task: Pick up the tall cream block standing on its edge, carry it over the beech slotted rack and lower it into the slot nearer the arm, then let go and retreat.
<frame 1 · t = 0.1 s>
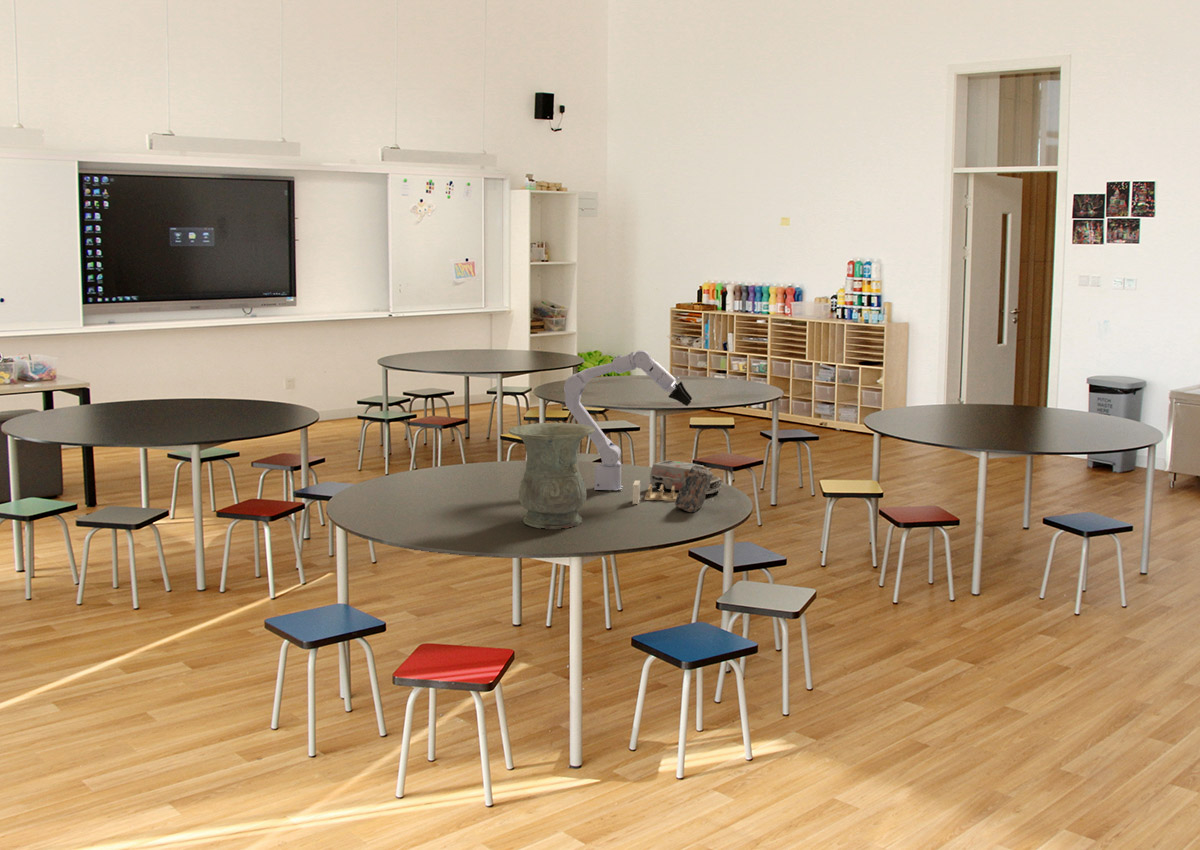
hand: (689, 402, 394), 32 cm above the table, tool tilted 50°, fingers open, 7 cm apart
toy car: (685, 492, 400), on the table
rack: (661, 498, 389), on the table
stone: (691, 509, 373), on the table
tall cream block: (636, 502, 382), on the table
vessel: (551, 522, 354), on the table
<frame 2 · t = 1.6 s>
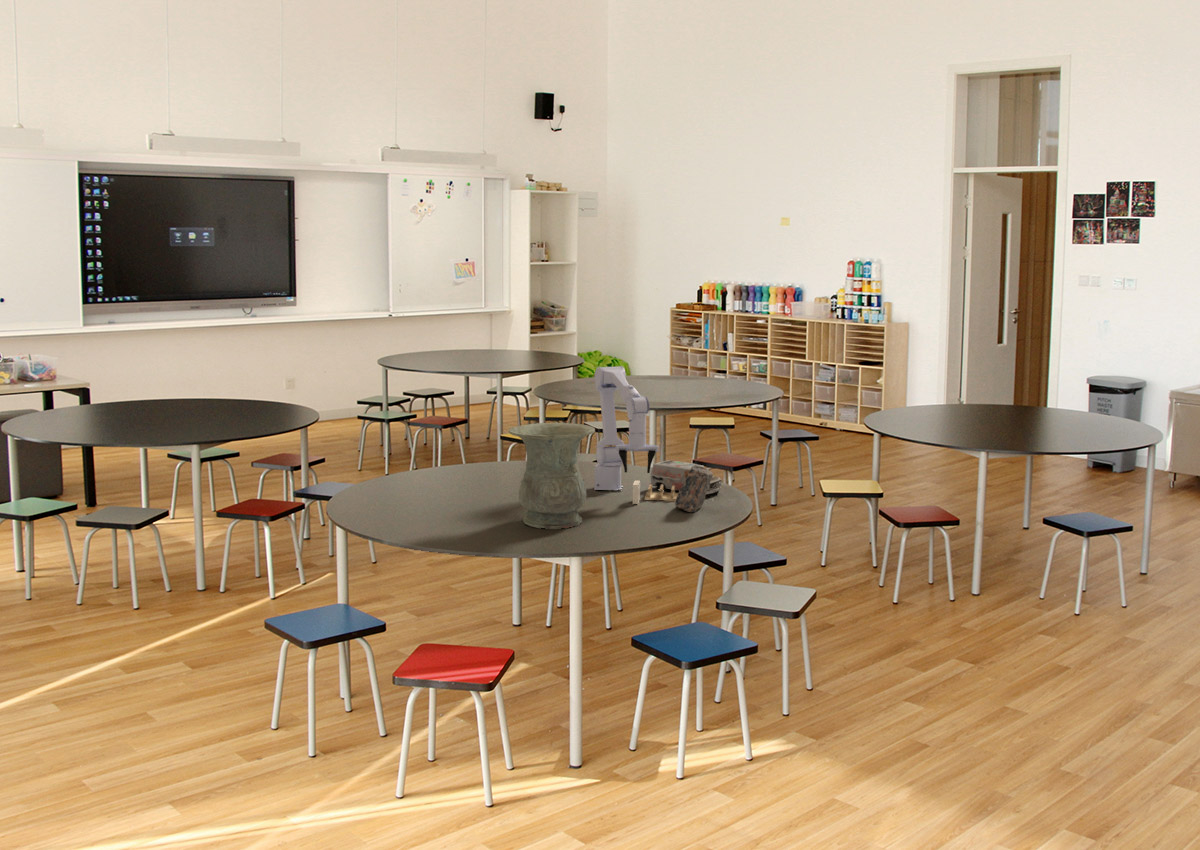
hand: (637, 472, 380), 11 cm above the table, tool pointing down, fingers open, 7 cm apart
nothing on the table moved.
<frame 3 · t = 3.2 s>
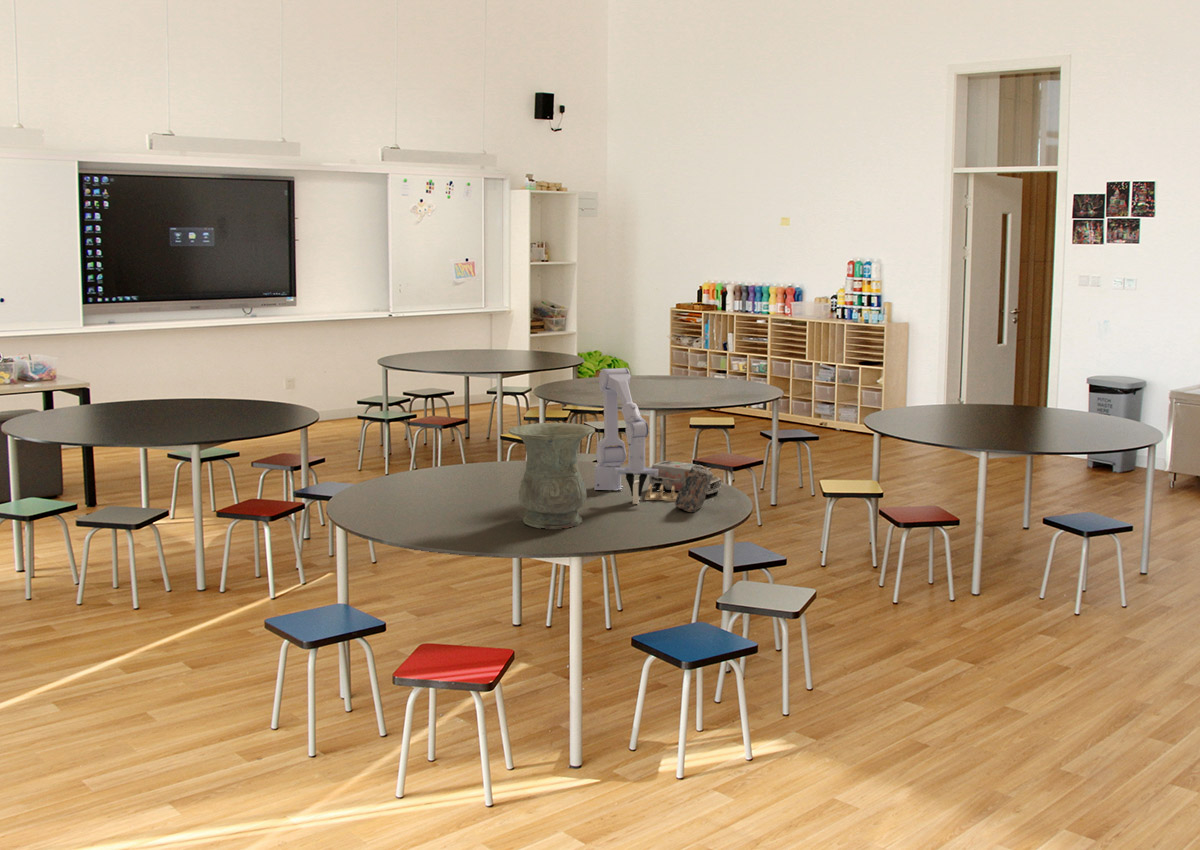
hand: (636, 495, 381), 2 cm above the table, tool pointing down, fingers closed on tall cream block, 2 cm apart
tall cream block: (636, 502, 382), on the table, touching gripper
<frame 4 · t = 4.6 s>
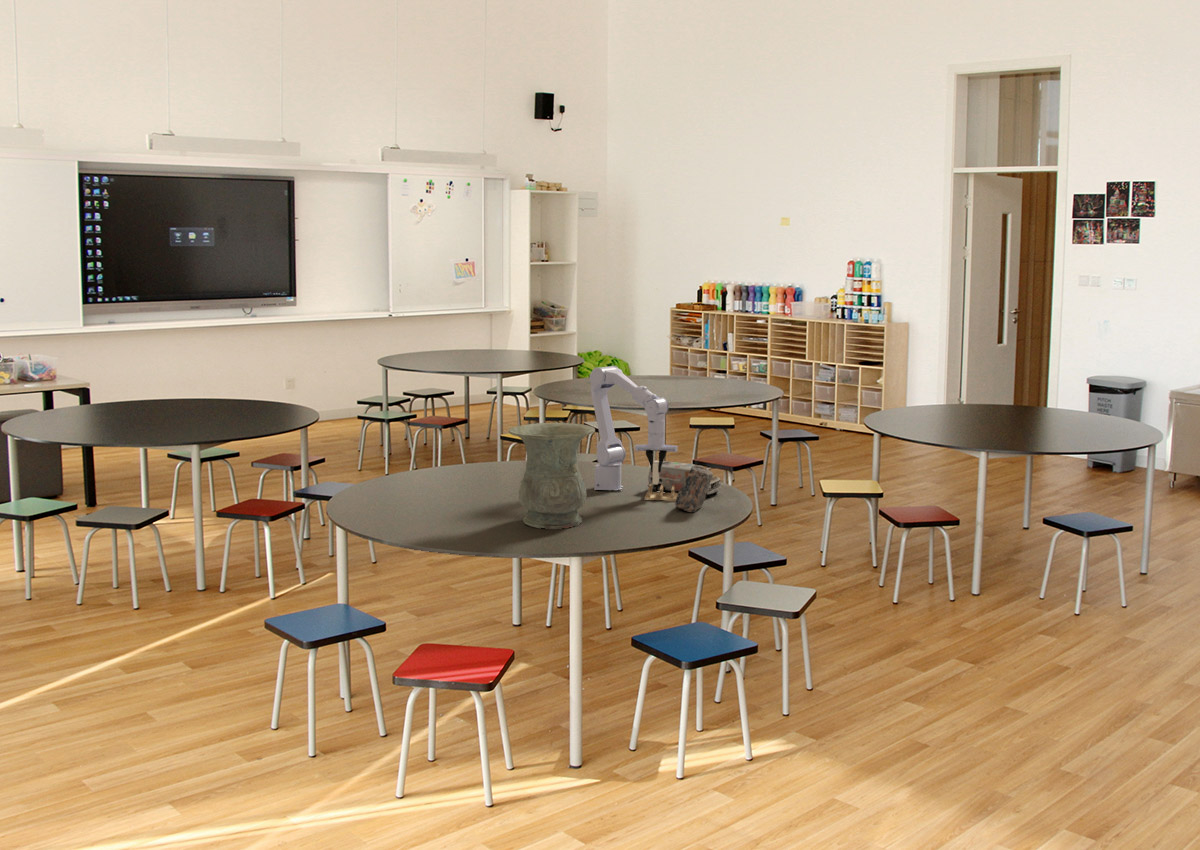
hand: (656, 471, 388), 9 cm above the table, tool pointing down, fingers closed on tall cream block
tall cream block: (655, 482, 388), point 6 cm above the table, touching gripper
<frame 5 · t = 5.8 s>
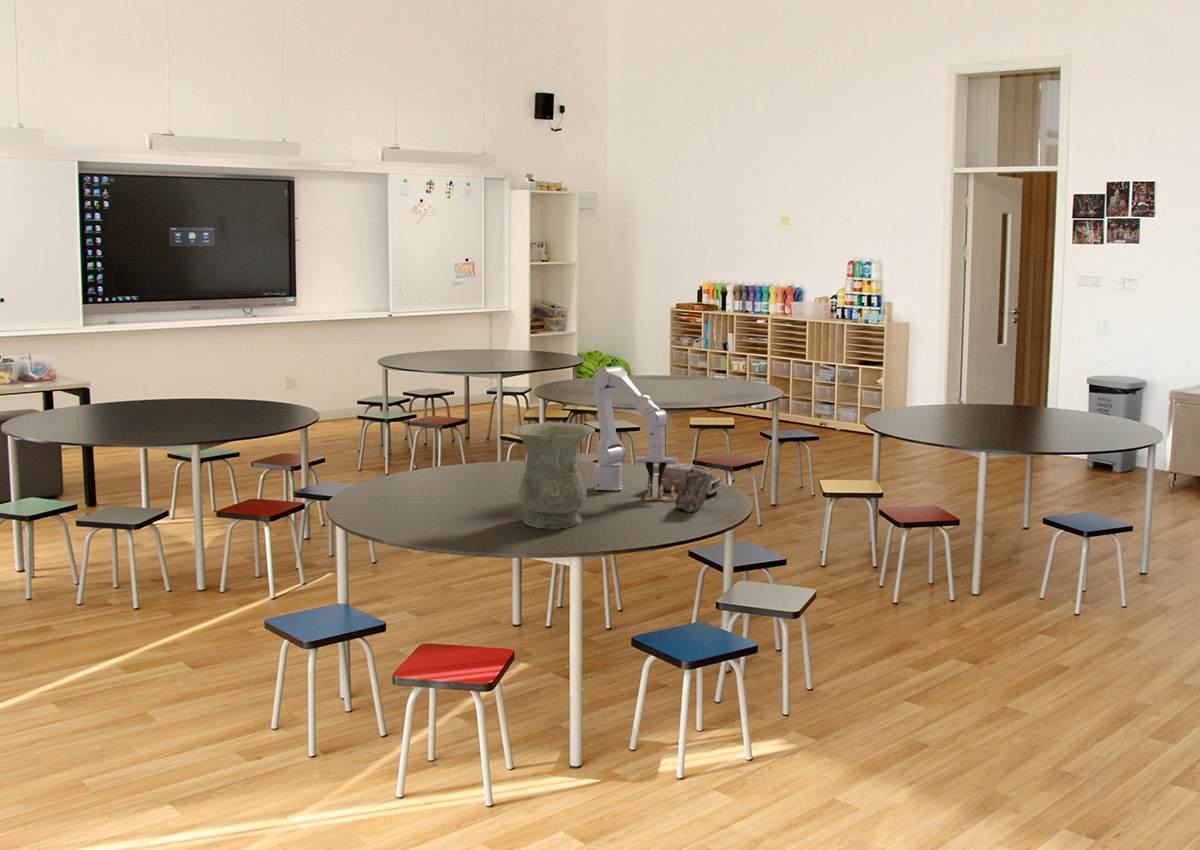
hand: (655, 484, 388), 5 cm above the table, tool pointing down, fingers closed on tall cream block, 2 cm apart
tall cream block: (655, 495, 389), point 1 cm above the table, touching gripper, rack
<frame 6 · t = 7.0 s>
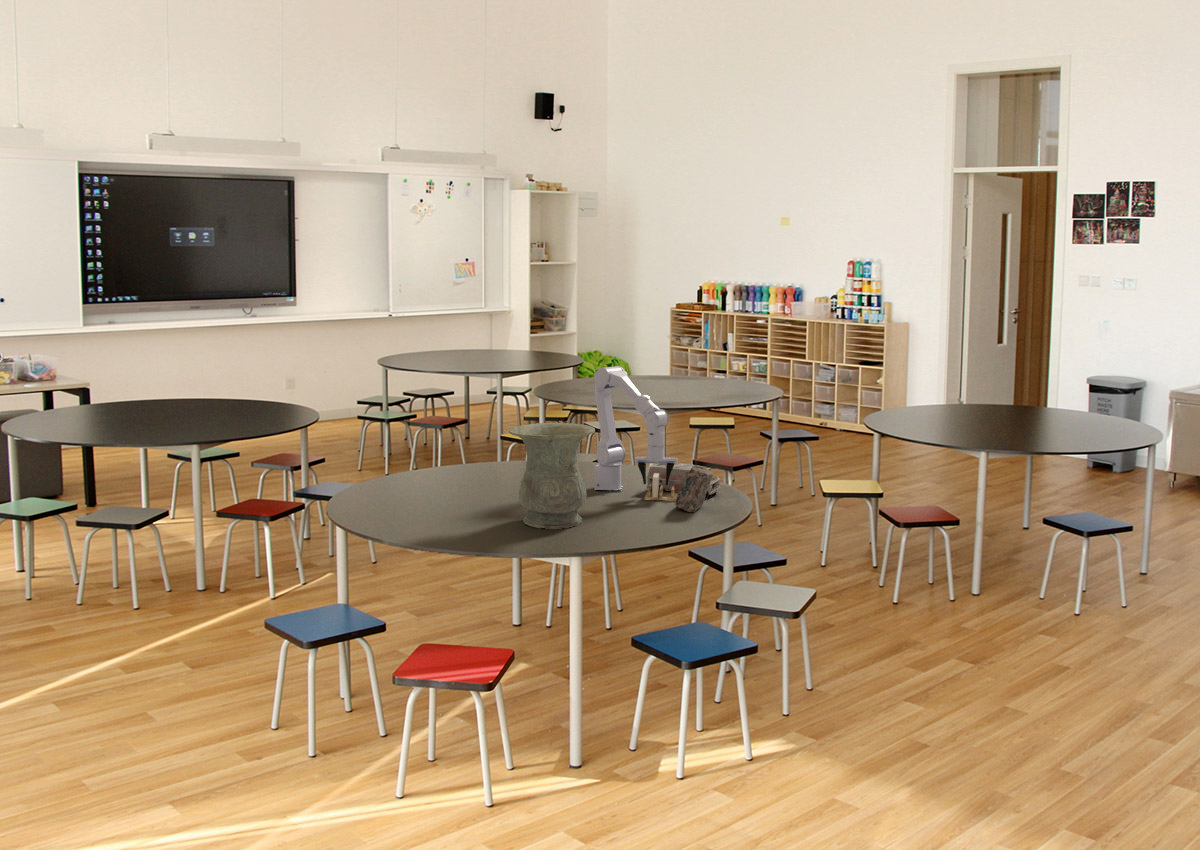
hand: (655, 484, 388), 5 cm above the table, tool pointing down, fingers open, 7 cm apart
tall cream block: (655, 495, 389), point 1 cm above the table, touching rack
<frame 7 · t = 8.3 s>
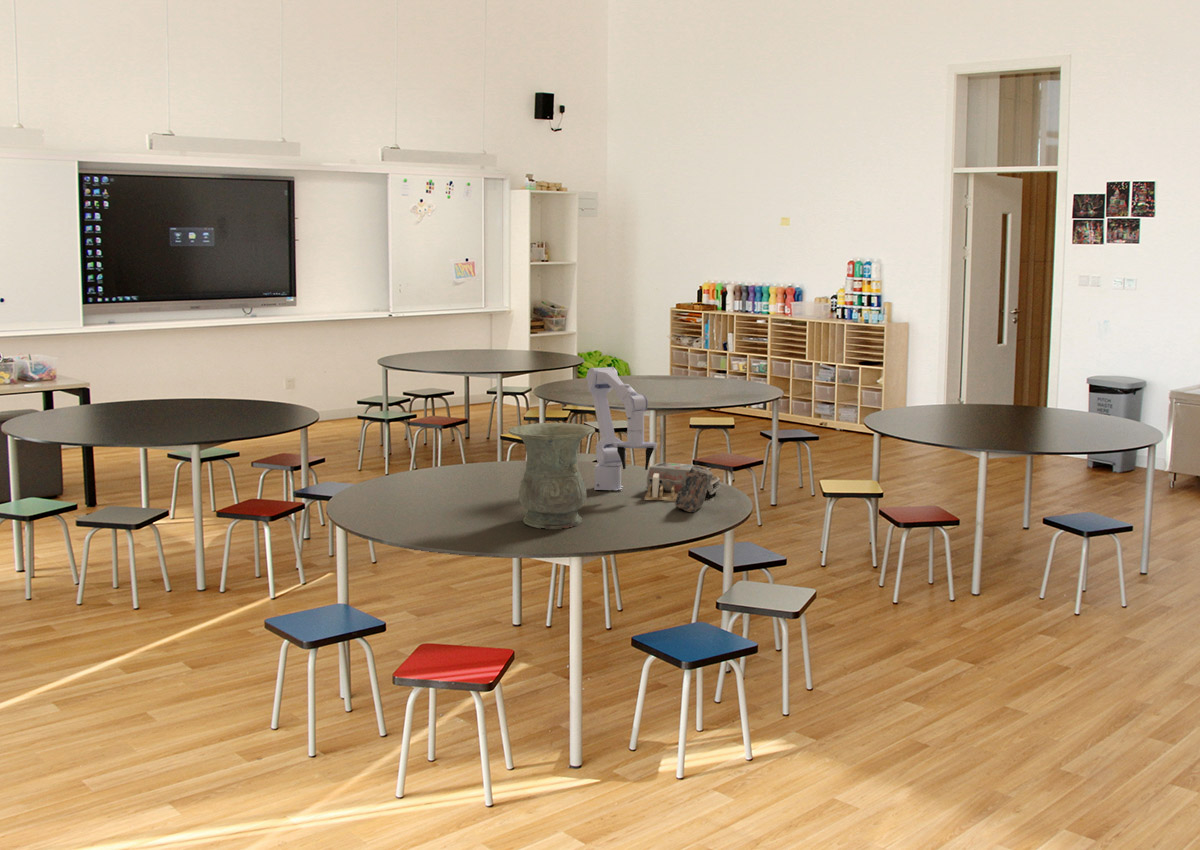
hand: (635, 469, 386), 10 cm above the table, tool pointing down, fingers open, 7 cm apart
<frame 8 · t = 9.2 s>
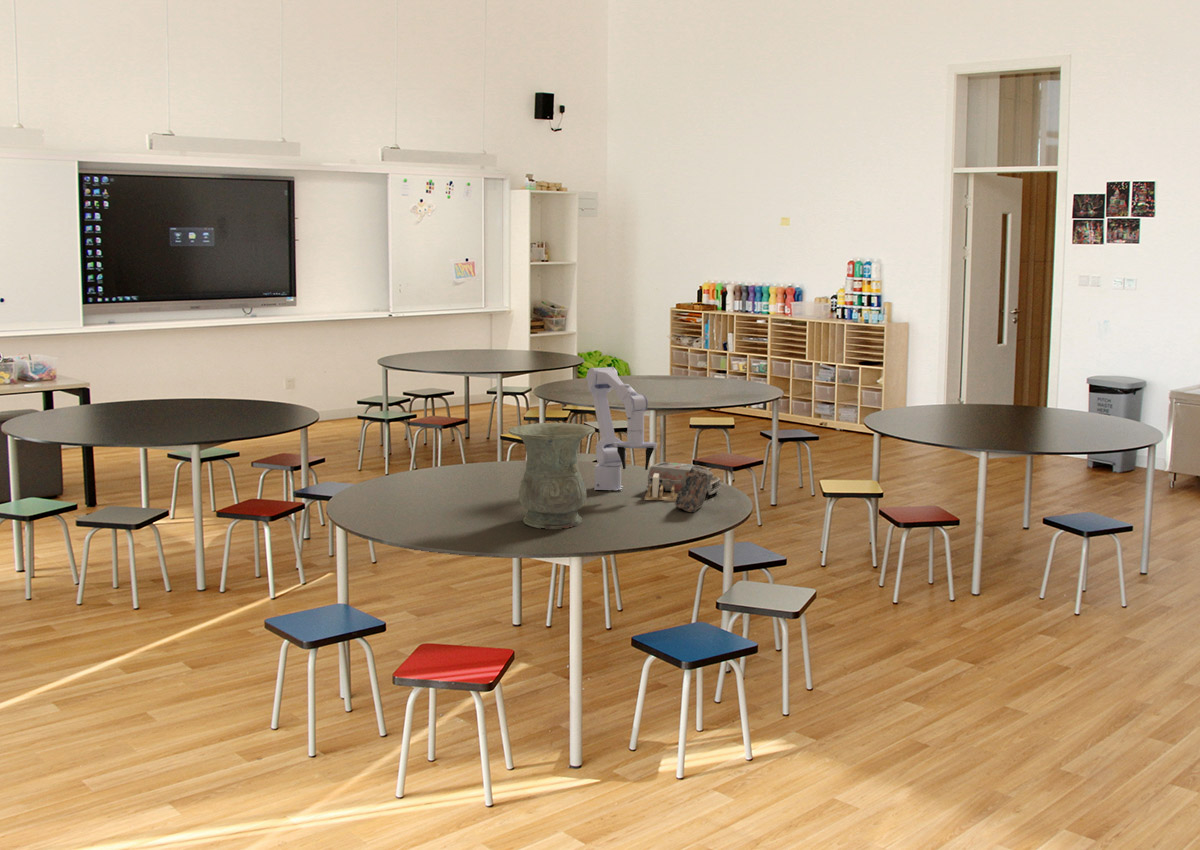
hand: (635, 469, 386), 10 cm above the table, tool pointing down, fingers open, 7 cm apart
at the end: tall cream block 0.1 cm from the target spot on the rack, point 1.0 cm above the rack's base; tall cream block tilted 0°; the gripper is holding nothing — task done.
